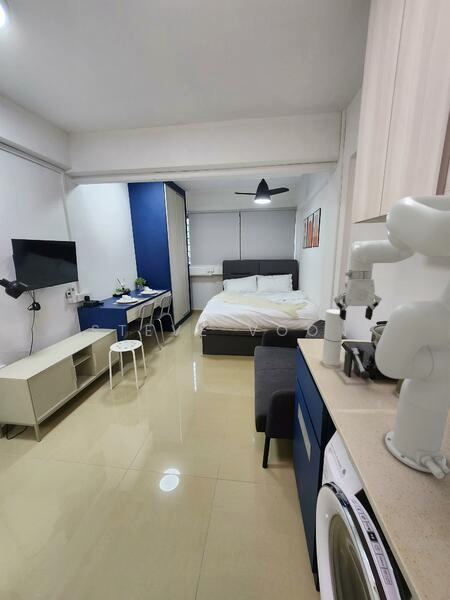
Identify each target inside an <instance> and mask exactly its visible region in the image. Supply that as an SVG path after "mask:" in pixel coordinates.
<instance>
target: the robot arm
mask: <svg viewBox="0 0 450 600" xmlns="http://www.w3.org/2000/svg"><path fill="white" fill-rule="evenodd" d="M385 225H386V229H387V239H378V240H377V239H376V240H373V239H372V240H362V241H361V240H360V241H354V242H352V244H351V248H350V257H349V268H348V271H347V272H345V277H347V278H346V279H345V283H344V286H343V291H342V294H340V295H337V296H336V297H334V298H333V301H334V303H335V305H336V307H338V308H339V310H340V318H341V319H342V320H344V321H346V319H347V310H346V309H348V307H366V308H365V313H364V318H365V319H367V320H369V321H371V320H372V318H373V312H374V310H375V309H376V308H377V307H378V306H379V304H380V302H381V301H382V298H381V297H380V296H379V295H376V294H375V293H376V287H375V279H374V278H372V277H373V268H374V264H394V263H395V264H396V263H398V262H402V261H405V260H407V259H409V258H412V257H413V256H414V255H415V254H416V253H418V254H420V255H422V256H426V257H431V258H450V194H449V195H448V194H436V195H435V194H433V195H410V196H405V197H402V198H401V199H398V200H397V201H395V203H394V204H393V205H392V206H391V207H390V208H389V210H388V212H387V213H386V218H385ZM340 301H341V302H340ZM374 361H375V365H376V368H377V369H378V371H380V373H381V374H382V375H384V376H386V377H388V378H390V379H395V380H399V379H405V380H404V381H403V383H402V386H401V391H400V394H399V397H398V403H397V408H396V415H395V421H394V427H393V430H390V431H388V432H387V433H386V435H385V439H384V442H385V446H386V448H387V450H388V451H389V452H390V453H391V455H392V456H394V457H395V458H396V459H397V460H399V461H400V462H401V463H403V464H405V465H406V466H408V467H410V468H412V469H415V470H417V471H421V472H425V473H431V474H432V475H433V476H434V477H435V478H436V479H437V480H441V479H443V478H444V477H445V474H448V473H450V468H449V467H448V466H447V458H446V456H445V454H444V452H443V451H442V450H441V447H442V442H443V438H444V432H445V428H446V424H447V419H448V415H449V411H450V280H449V281H448V282H447V284H446V287H445V289H444V290H443V292H442V293H441V294H440V296H439V297H437V298H436V299H433V300H417V301H416V300H413V301H407V302H404V303H402V304H400V305H398V306H397V307H396V308H394V309H393V310H392V312H391V314H390V315H389V317H388V319H387V322H386V324H385V327H384V329H383V330H382V334H381V335H380V337H379V340H378V342H377V344H376V347H375V352H374Z"/></svg>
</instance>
